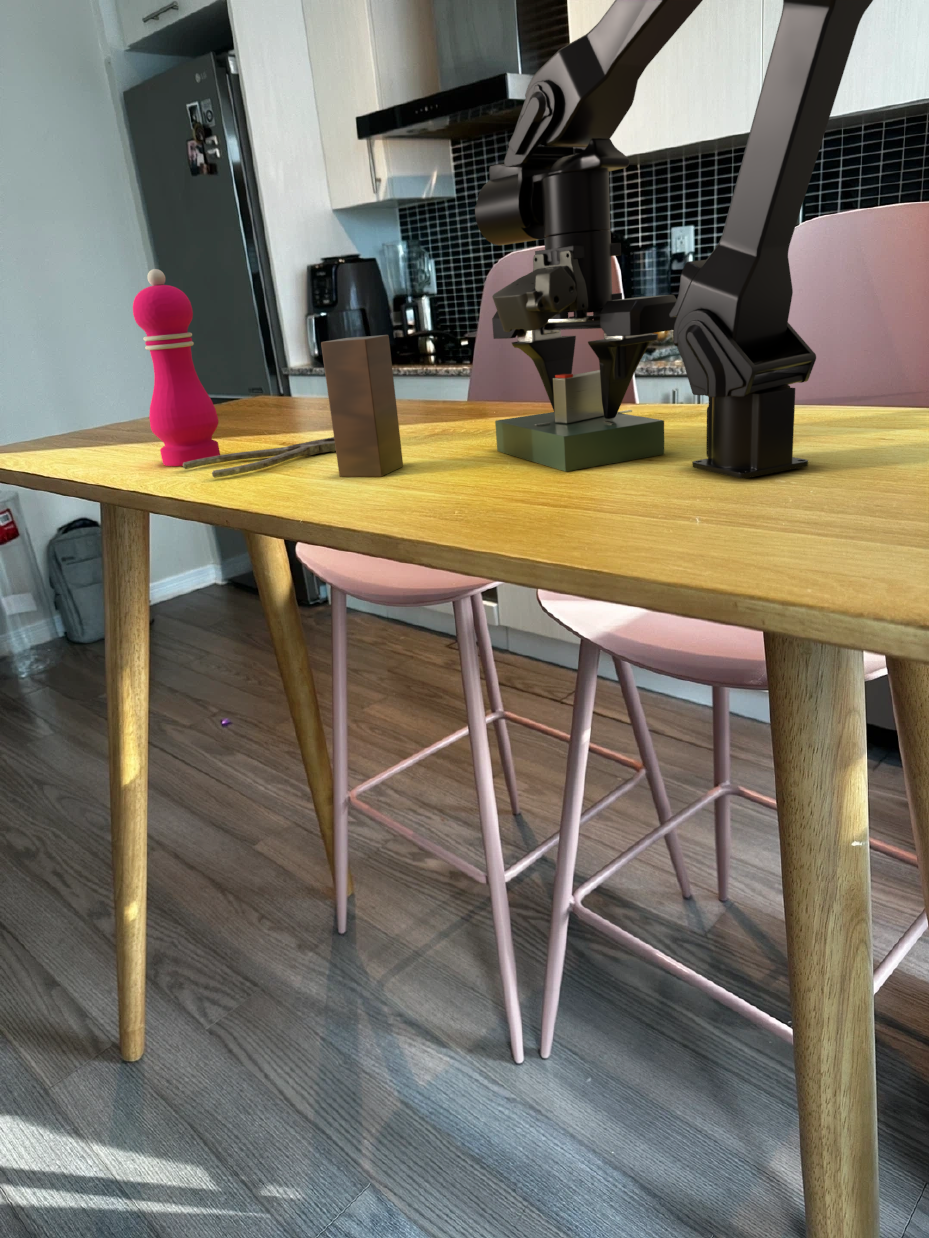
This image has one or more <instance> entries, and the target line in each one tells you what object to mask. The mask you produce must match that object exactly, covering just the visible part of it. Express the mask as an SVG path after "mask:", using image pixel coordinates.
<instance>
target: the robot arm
mask: <svg viewBox="0 0 929 1238" xmlns="http://www.w3.org/2000/svg"><path fill="white" fill-rule="evenodd" d="M702 2H703V0H614V2H612V4H611V5H610V7H609V8H608V9H607V10H606V11H605V13H604V15H603V16H602V17H601V18H600V19H599V21H598V22H597V23H596V25H595V26H593V27H592V28H591V29H590V30H589V31H588V32H587V33H586V34H584V35H582V36H581V37H578V38H577V39H575V40H574V41H572V42H570V43H568V44H567V45H564V46H563V47H561V48H560V49H558V50H557V51H556V52H555V53H554V54H553V55H552V56H550V58H549V59H548V60H547V61H546V62H545V63H544V64H543V65H542V66H541V67H540V68H539V69H538V70H537V71H536V72H535V74H533V76H532V78H530V79H531V80H530V81H529V83H528V85H527V88H526V91H525V94H524V96H525V97H524V102H523V105H522V107H521V110H520V114H519V116H518V119H517V122H516V124H515V128H514V131H513V134H512V136H511V138H510V139H509V142H508V144H507V145H508V148H507V151H506V153H505V157H504V161H503V163H497V164H493V165H490V166H489V168H488V172H489V180H488V181H487V182H486V183H485V184H484V185H483V186H482V188H481V189H480V190H479V193H478V196H477V199H476V204H475V206H474V216H475V221H476V225H477V228H478V230H479V232H480V233H481V235H482V236H483V238H484V239H485V240H486V241H488V242H489V243H491V244H493V245H495V246H505V245H513V244H519V243H524V242H532V241H533V242H534V241H538V240H539V241H540V240H544V249H541V250H535V251H534V255H533V257H532V266H533V267H532V268H533V269H532V271H531V272H529V273H527V274H525V275H522V276H520V277H519V278H517V279H515V280H514V281H512V282H511V283H509V284H507V285H506V286H505V287H503V288H501V289H500V290H498V291H496V292H495V293H494V294H493V295H492V297H491V298H492V300H493V303H494V306H495V308H496V312H494V315H493V316H492V319H491V322H492V324H491V325H492V335H493V339H494V340H500V339H501V340H502V339H505V340H506V339H517V340H516V341H512V342H511V345H512V347H513V348H515V349H519V350H521V352H523V353H524V354H525V355H526V356H528V357H529V358H530V359H531V360H532V362H533V364H534V366H535V368H536V370H537V373H538V374H539V377H540V379H541V381H542V385H543V387H544V389H545V392H546V394H547V398H548V400H549V403H550V405H551V407H552V410H553V412H554V413H555V410H554V390H553V378H555V375H560V374H573V366H574V356H575V349H576V340H577V336H576V335H562V330H563V331H564V330H565V331H566V330H590V329H591V330H592V329H593V330H594V329H596V330H597V329H601V330H602V331H603V338H602V339H595V340H589V341H587V344H588V346H589V347H590V349H591V350H592V351H593V353H594V354H595V355H596V357H597V358H598V362H599V370H600V380H601V395H602V406H603V412H604V417H605V418H606V419H611V418H615V417H616V415H617V413H618V412H619V411H620V409H621V408H620V407H621V405H622V403H623V401H624V398H625V395H626V394H627V391H628V388H629V387H630V384H631V382H632V379H633V378H634V377H633V376H634V374H635V373H636V370H637V368H638V366H639V364H640V363H641V361H642V358H643V357H644V355H645V354H646V351H647V349H648V347H649V345H650V343H651V342H655V341H656V342H657V341H658V338H659V334H658V333H662V332H668V331H672V340H673V341H672V342H673V345H674V346H675V347H676V348H677V351H678V353H679V355H680V358H681V360H682V362H683V366H684V370H685V372H686V376H687V380H688V383H689V386H690V390H691V393H692V394H693V395H694V396H706V397H707V398H708V406H707V407H706V457H707V458H703V459H702V458H701V459H697V460H693V461H692V462H691V463H692V465H691V467H692V468H694V469H696V470H697V469H698V470H702V471H705V472H706V471H707V472H710V473H716V474H720V475H724V476H729V477H732V478H736V479H750V478H754V477H759V476H766V475H769V474H774V473H780V472H781V473H782V472H786V471H790V470H791V471H792V470H795V469H801V468H807V467H808V466H809V459H805V458H800V457H795V456H794V435H795V434H794V433H795V431H794V429H795V410H796V408H795V407H796V387H791V386H790V385H792V384H793V385H794V384H798V383H799V384H802V383H806V382H808V381H809V379H810V377H811V374H812V372H813V369H814V366H815V363H816V360H817V354H816V353H815V352H814V350H813V349H812V348H811V347H810V346H809V345H808V344H807V342H806V341H805V340H804V339H803V338H802V337H801V335H800V334H799V332H797V331H796V329H795V328H794V327H793V326H792V325H791V324H790V322H789V318H790V311H791V307H792V306H791V305H792V300H793V293H794V291H793V284H792V283H793V282H792V276H791V269H790V261H789V251H790V245H791V242H792V239H793V236H794V232H795V229H796V226H797V223H798V219H799V217H800V213H801V211H802V206H803V204H804V200H805V197H806V194H807V190H808V187H809V185H810V181H811V178H812V176H813V172H814V168H815V166H816V162H817V159H818V156H819V153H820V149H821V147H822V143H823V140H824V136H825V133H826V130H827V127H828V124H829V120H830V118H831V114H832V111H833V109H834V105H835V101H836V98H837V96H838V95H837V94H838V92H839V88H840V85H841V82H842V79H843V75H844V72H845V70H846V67H847V63H848V60H849V57H850V53H851V50H852V47H853V43H854V41H855V37H856V34H857V31H858V28H859V25H860V22H861V20H862V18H863V16H864V14H865V12H866V11H867V10H868V8H869V7H870V6H871V4H872V3H873V2H874V0H783V1H782V10H781V16H780V17H779V18H780V19H779V21H778V27H777V30H776V32H775V33H776V34H775V37H774V41H773V45H772V48H771V52H770V55H769V59H768V63H767V67H766V71H765V74H764V77H763V82H762V85H761V90H760V93H759V96H758V100H757V104H756V108H755V110H754V111H755V112H754V115H753V119H752V123H751V127H750V131H749V133H748V138H747V141H746V144H745V148H744V152H743V156H742V160H741V164H740V166H739V170H738V174H737V178H736V182H735V186H734V189H733V193H732V196H731V200H730V205H729V208H728V211H727V215H726V218H725V222H724V227H723V229H722V234H721V237H720V239H719V241H718V243H717V245H716V246H715V248H714V249H713V251H712V252H711V253H710V254H709V256H708V257H707V258H706V259H701V260H690V261H686V263H684V266H683V269H682V271H681V273H680V281H679V288H678V295H677V298H676V296H675V295H674V294H663V295H649V296H648V295H647V296H638V297H629V298H623V292H615V293H613V270H612V257H618V256H622V243H621V242H612V239H611V238H612V237H611V236H612V235H611V201H610V173H609V172H612V171H618V170H621V169H626V168H628V167H629V165H630V161H631V160H630V158H629V157H628V156H626V155H625V153H623V152H622V151H620V150H619V149H618V148H617V147H616V146H615V145H614V143H613V141H612V140H611V138H612V137H613V135H614V134H615V133H616V131H617V129H618V128H619V126H620V125H621V123H622V121H623V120H624V118H625V117H626V116H627V114H628V112H629V110H630V109H631V107H632V106H633V103H634V100H635V96H636V91H637V87H638V82H639V79H640V78H641V76H642V75H643V73H644V72H645V70H646V68H647V67H648V65H649V64H650V63H651V62H652V61H653V60H654V58H655V57H656V56H657V55H659V53H660V52H661V50H662V49H663V48H664V47H665V46H666V44H667V43H668V42H669V41H670V40H671V39H672V38H673V36H674V35H675V34H676V33H677V32H678V30H679V29H680V28H681V27H682V26H683V24H684V23H685V22H686V21H687V20H688V18H690V17H691V15H692V14H693V13H694V11H695V10H696V9H697V8H698V6H700V5H701V3H702ZM540 145H541V146H540ZM570 313H573V316H569V314H570ZM588 313H592V314H588Z"/></svg>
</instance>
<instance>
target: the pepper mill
mask: <svg viewBox="0 0 929 1238" xmlns="http://www.w3.org/2000/svg"><path fill="white" fill-rule="evenodd" d="M147 281H148V283H149V284H150V285H149V286H147V287H144V288H143V289H141V290H140V291H139V292H138V293H137V294H136V295H135V296H134V299H133V303H132V314H133V318H134V321H135V323H136V325H137V326H138V327H139V328H140V329H142V330H143V331H144V333H145V334H146V336H144V337H143V338H142V339H143V341H144V342H145V347H144V349H145V350H146V351H149V353H150V357H151V361H152V367H153V374H154V375H153V377H154V379H153V380H154V381H153V390H152V396H151V401H150V405H149V416H148V419H149V425H150V430H151V432H152V434H154V436H156V437H157V438H158V439H159V440H160V441H161V442H163V444H164V445H163V446H162V447H161V448H160V450H159V451H160V457H161V461H162V464H163V466H166V467H183V463H184V462H188V461H193V460H197V459H202V458H207V457H213V456H219V455H221V451H220V447H219V442H218V440H215V439H213V435H214V433H215V432H216V430H217V428H218V426H219V417H218V412H217V410H216V407H215V405H214V402H213V400H212V398H211V397H210V395H209V394H208V392H207V391H206V389H205V387H204V386H203V384H202V381H200V379H199V376H198V374H197V371H196V369H195V364H194V361H193V356H192V347H193V346H194V345H195V342H194V341H193V338H192V337H193V333H192V332H190V331H188V329H189V326H190V324H191V322H192V320H193V317H194V311H193V307H192V302H191V300H190V298H189V297H188V296H187V294H186V293H185V292H184V291H183V290H181V289H179V288H178V287H176V286H172V285H168V284H165V283H166V275H165V274H164V272H163V271H162V270H160V269H158V268H152V269H150V271H148V273H147Z"/></svg>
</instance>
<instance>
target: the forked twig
mask: <svg viewBox="0 0 929 1238" xmlns="http://www.w3.org/2000/svg"><path fill="white" fill-rule="evenodd" d="M333 451H336V448H335V440H334V436H332V437H327V438H321V439H315V440H310V441H306V442H305V441H304V442H301V443H295V444H292V445H287V446H282V447H275V448H265V449H256V450H249V451H240V452H232V453H226V454H220V455H219V456H213V457H207V458H202V459H197V460H193V461H188V462H184V463H183V466H182V468H183V469H184V470H189V469H194V468H197V467H198V468H199V467H202V466H209V465H213V464H220V463H227V462H232V461H240V460H249V459H250V460H251V459H258V458H259V459H261V458H266V459H263V460H259V461H255V462H250V463H246V464H241V465H236V466H231V467H225V468H220V469H219V468H218V469H215V470H212V471H211V475H212V476H211V477H213V478H214V479H217V478H223V477H229V476H234V475H241V474H245V473H251V472H253V471H258V470H262V469H266V468H269V467H272V466H276V465H278V464H282V463H285V462H287V461H290V460H293V459H296V458H300V457H305V456H306V457H307V456H312V455H316V454H322V453H323V454H324V453H328V452H333ZM267 457H268V458H267Z"/></svg>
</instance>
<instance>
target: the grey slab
mask: <svg viewBox="0 0 929 1238" xmlns="http://www.w3.org/2000/svg"><path fill="white" fill-rule="evenodd" d="M553 390H554V410H555V423H563V424H568V423H573V422H578V421H582V420H587V419H591V418H596V417H601V416H604V412H603V406H602V395H601V380H600V369H597V370H592V371H587V372H580V373H576V374H575V373H574V374H573V373H572V374H560V375H555V378H553ZM554 410H553V411H554Z"/></svg>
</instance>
